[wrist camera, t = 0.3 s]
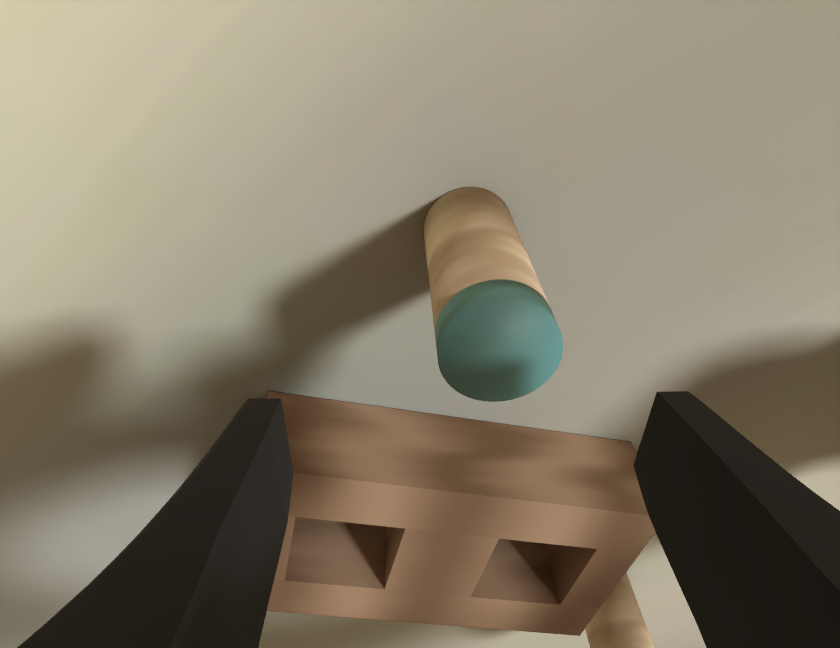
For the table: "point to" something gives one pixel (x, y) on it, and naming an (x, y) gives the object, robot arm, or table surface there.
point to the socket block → (453, 519)
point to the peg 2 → (619, 621)
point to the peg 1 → (487, 300)
